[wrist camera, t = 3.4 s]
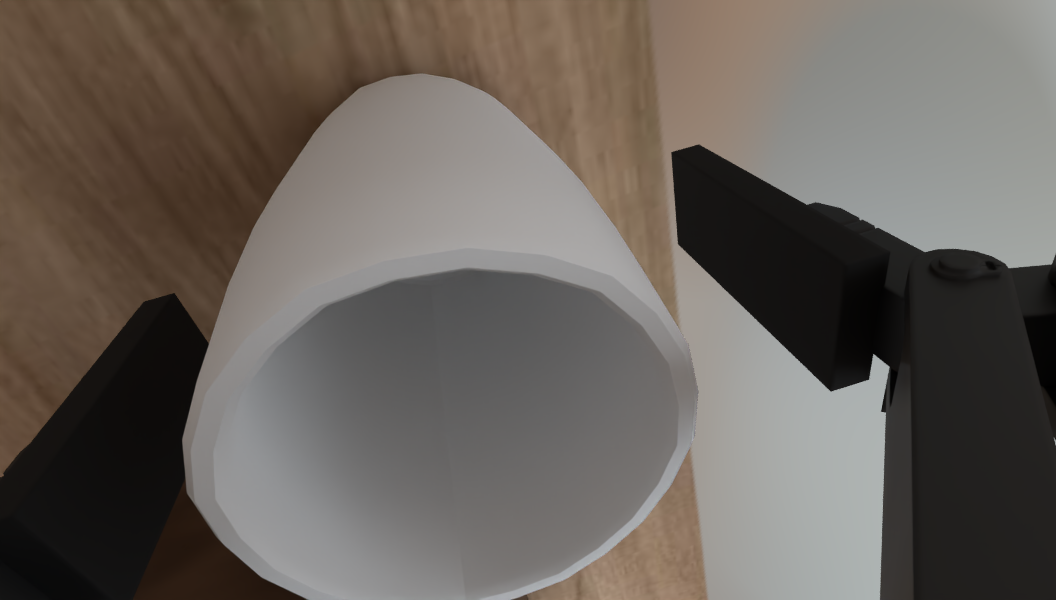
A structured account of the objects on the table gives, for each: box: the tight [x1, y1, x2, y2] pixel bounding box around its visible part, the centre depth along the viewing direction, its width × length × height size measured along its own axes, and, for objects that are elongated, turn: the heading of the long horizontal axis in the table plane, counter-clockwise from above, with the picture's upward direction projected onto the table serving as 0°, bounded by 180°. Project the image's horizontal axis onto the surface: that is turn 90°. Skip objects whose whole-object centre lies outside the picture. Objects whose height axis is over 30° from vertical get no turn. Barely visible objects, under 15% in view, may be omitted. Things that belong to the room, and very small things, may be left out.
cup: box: [182, 73, 698, 600], centre depth 14 cm, size 8×8×14 cm
